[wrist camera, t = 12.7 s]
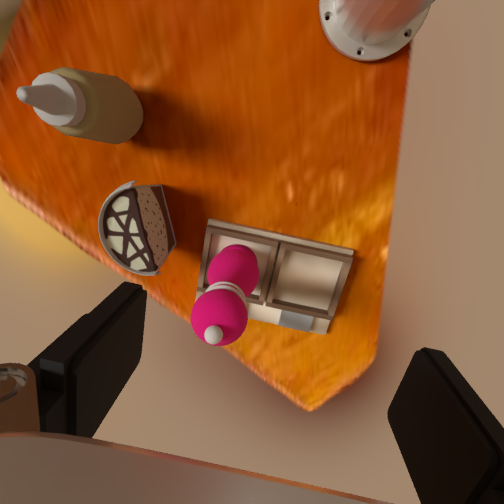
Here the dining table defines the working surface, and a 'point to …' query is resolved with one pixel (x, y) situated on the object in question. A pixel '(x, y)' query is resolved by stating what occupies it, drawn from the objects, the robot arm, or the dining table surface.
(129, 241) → the food container
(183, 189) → the dining table surface
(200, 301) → the pepper mill
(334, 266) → the holder board
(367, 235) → the dining table surface
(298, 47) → the dining table surface
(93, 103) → the squeeze bottle
